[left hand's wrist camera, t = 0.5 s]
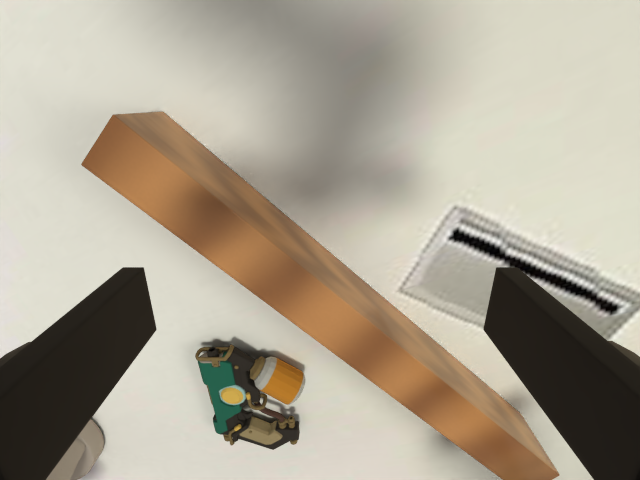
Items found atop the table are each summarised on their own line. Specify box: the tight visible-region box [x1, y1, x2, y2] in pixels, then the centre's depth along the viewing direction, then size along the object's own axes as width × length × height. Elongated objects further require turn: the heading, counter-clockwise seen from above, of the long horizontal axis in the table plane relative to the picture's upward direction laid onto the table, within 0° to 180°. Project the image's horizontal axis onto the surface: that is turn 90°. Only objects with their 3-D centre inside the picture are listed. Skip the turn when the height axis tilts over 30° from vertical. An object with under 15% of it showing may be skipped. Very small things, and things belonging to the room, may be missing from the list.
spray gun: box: [195, 345, 305, 450], centre depth 44 cm, size 4×17×15 cm
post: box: [81, 112, 559, 480], centre depth 37 cm, size 58×5×8 cm, turn 48°
